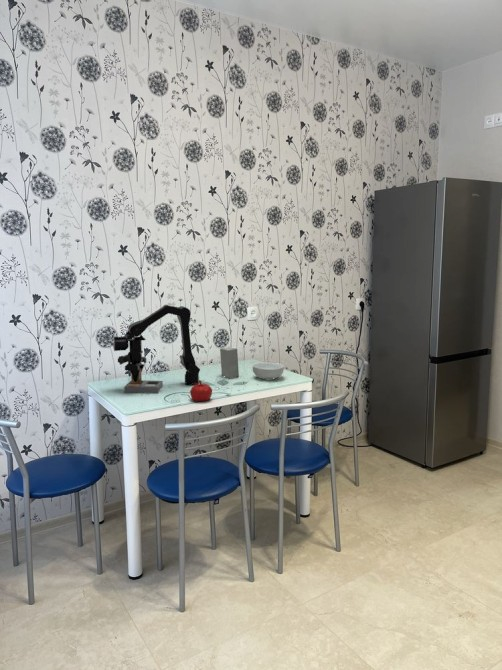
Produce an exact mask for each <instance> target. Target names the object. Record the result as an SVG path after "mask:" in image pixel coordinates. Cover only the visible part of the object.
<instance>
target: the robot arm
mask: <svg viewBox="0 0 502 670" xmlns="http://www.w3.org/2000/svg"><path fill="white" fill-rule="evenodd" d="M168 314H170V315H174V316H176V317H177V321H178V323H179V327H180V335H181V344H182V354H181V355H179V359H180V361H179V363H180V364H181V366H182V367H183V368H185V370H186V371H185V374H184V383H185V385H192V386H194V385H196V384H194V383H198V384H200V382H199V380H200V374H199V373H200V372H201V369H200V368H199V367H198V366H197V365H196V360H195V356H194V354H193V352H192V343H191V332H190V321H191V310H190V309H189V308H188V307H186V306H173V305H172V306H171V305H169V304H163V305H162V307H160V308H159V309H157V310H155V311H154V312H152V313H150V314H149V315H148V316H146V317H145V318H142V319H140V320H138V321H135V322H132V323H130V324H129V325H128V328H127V331H126V333H125V334H124V336H113V343H112V346H113V351H114V352H117V351H119V352H120V351H127V349H129V352H128V353H127V354H125V355H121V356H120V355H119V356H118V358H117V362H118V363H119V365H123V364H125V363H127V364H125V366H124V370H125V371H129V372H130V374H131V373H132V376H133V379H134V382H137V379H138V376H139V373H140V370H141V373H142V372H143V369H144V368H145V364H146V363H147V358H146V356H142V355H143V353H144V351H143V350H142V347H143V346H142V341H146V338H145V337H144V336H143V335H142V333H144V332H145V331H147V329H148V328H149V327H150V326H151V325H153V324H155V323H156V322H157V321H159V320H160V319H162V318H164V317H165V316H166V315H168Z"/></svg>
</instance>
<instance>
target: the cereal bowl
mask: <svg viewBox="0 0 502 670" xmlns="http://www.w3.org/2000/svg"><path fill="white" fill-rule="evenodd" d="M284 368H285V365H283V364H281V363H277V362H267V361H266V362H264V361H263V362H256V363H253V364H252V373H253V374H254V375H255V376H257V377H258V378H260V379H261V378H263V379H262V380H264V379H273V378H275V379H276V378H279V377H281V376H282V375H283V374H284ZM273 380H274V379H273Z"/></svg>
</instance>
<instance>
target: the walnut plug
mask: <svg viewBox="0 0 502 670" xmlns="http://www.w3.org/2000/svg"><path fill="white" fill-rule="evenodd" d="M130 377H131V379H130V381H131V382H132V384H141V383H142V372H141V370H140V373H139V376H138V379H137V382H134V379H133V376H132V373H131V372H130Z"/></svg>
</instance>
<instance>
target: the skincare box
mask: <svg viewBox="0 0 502 670" xmlns="http://www.w3.org/2000/svg"><path fill="white" fill-rule="evenodd" d="M219 352H220V365H221V366H220V367H221V368H220V369H221V371H220V373H221V376H222V377H224V376H225V377H224V378H227V379H233V378H239V376H240V374H239V373H240V372H239V371H240V370H239V357H238V356H239V354H238V348H235V347H231V346H226V347H220V349H219Z"/></svg>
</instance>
